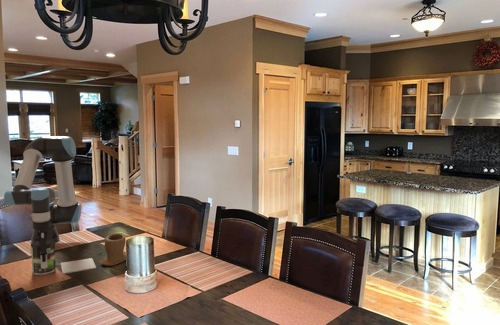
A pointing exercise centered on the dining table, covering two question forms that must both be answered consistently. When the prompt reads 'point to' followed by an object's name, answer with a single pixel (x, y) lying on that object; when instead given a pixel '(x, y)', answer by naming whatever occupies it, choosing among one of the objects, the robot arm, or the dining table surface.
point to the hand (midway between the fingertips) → (43, 263)
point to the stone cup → (114, 249)
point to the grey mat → (77, 265)
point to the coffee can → (37, 260)
